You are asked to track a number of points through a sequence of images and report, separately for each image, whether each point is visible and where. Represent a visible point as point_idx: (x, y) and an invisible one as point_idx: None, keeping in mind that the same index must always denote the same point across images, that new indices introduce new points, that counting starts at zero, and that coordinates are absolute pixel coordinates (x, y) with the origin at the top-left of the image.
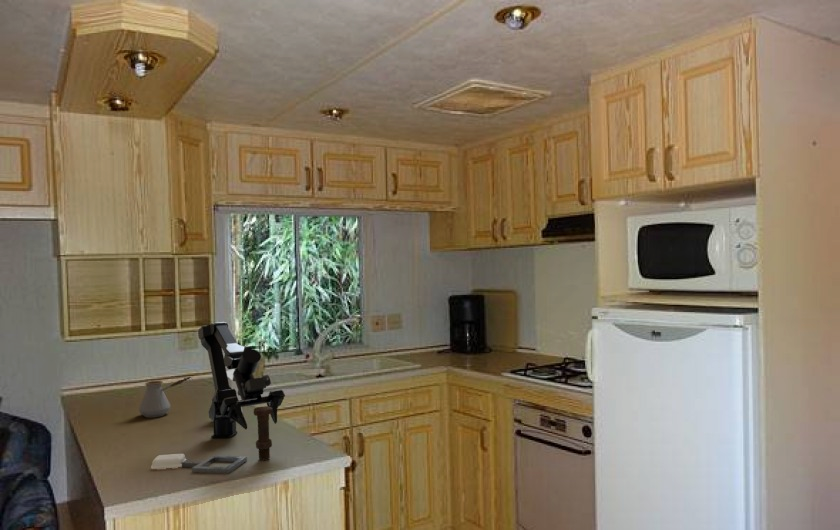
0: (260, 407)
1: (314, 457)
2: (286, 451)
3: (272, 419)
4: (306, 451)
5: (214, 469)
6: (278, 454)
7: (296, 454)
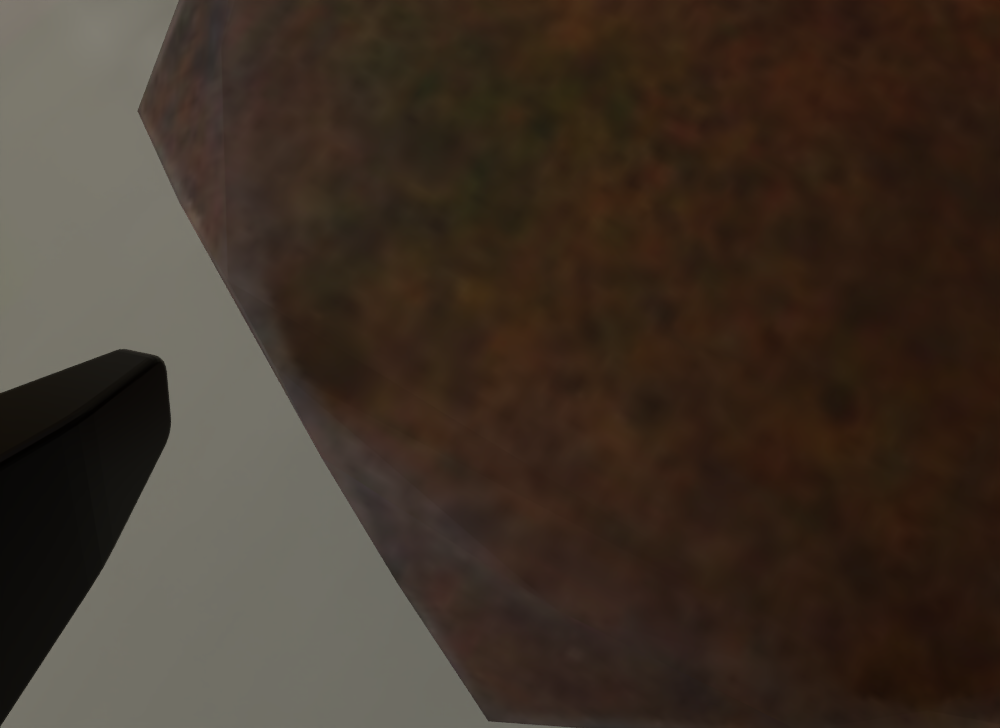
0: (815, 435)
1: (140, 6)
2: (154, 484)
3: (60, 632)
4: (13, 260)
5: None
6: (306, 464)
7: (174, 267)
